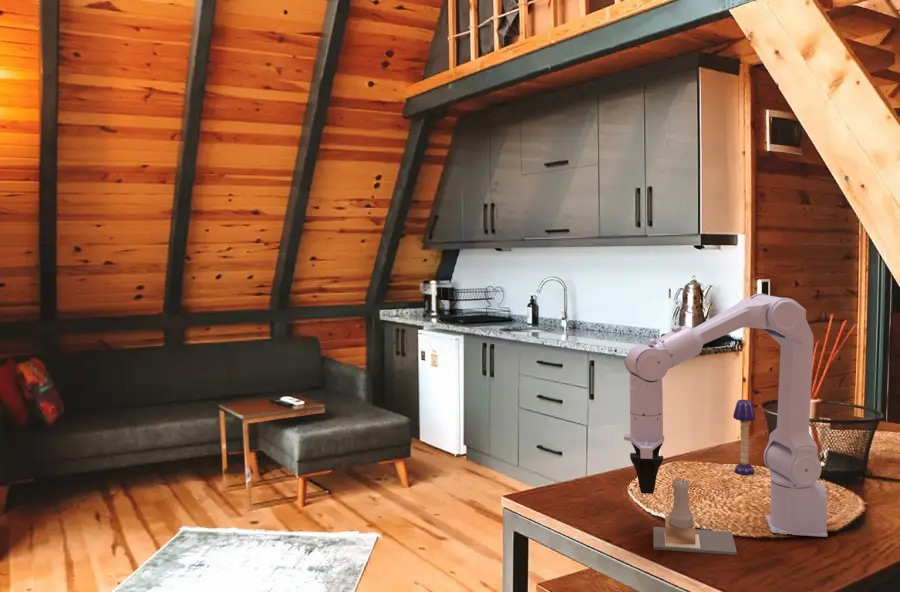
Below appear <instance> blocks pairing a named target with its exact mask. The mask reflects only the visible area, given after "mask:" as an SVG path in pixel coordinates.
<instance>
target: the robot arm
mask: <svg viewBox="0 0 900 592" xmlns="http://www.w3.org/2000/svg"><path fill="white" fill-rule="evenodd" d="M741 328H748V329H749V328H751V329H758V330H761V331H763V332H765V333H767V334H768V335H769V336H770V337H771V338H772V339H773V340H775V342H777V343H778V345H780V357H779V376H778V377H779V378H778V397H777V415H776V416H777V417H776V418H777V420H776V428H775V429H774V430H773V431H771V432H770V434H769V435H768V436H769V437H768V438H769V439H768V443H767V445H766V448H765V450H764V452H763V462H764V464H765V466H766V467H767V468H768V469H769V472H770V473H769V476H770V515H765V518H766V522H767V524H768V527H770V528H769V529H770V532H772V534H773V533H779V534H778V535H787V534H790V535H791V534H792V535H793V536H805V537H806V536H807V537H809V536H810V537H819V538H820V537H823V538H825V537H826V538H827V537H828V531H827V530H828V496H827V495H828V494H827V489H826V486H825V484H824V483H823V482H819V481H818V480H819V478H820V477H821V474H822V463H821V461H820V458H819V455H818V445H817V443H816V442H815V440H814V439H813V436H811V433H810V417H811V398H812V397H811V396H812V395H811V394H812V381H813V379H812V378H813V360H814V343H815V342H814V334H813V331H812V329H811V326H810V325H809V323H808V320H807V309H806V308H804V307H803V306H802V305H801V304H800V303H799V302H797V301H796V300H795V299H792V298H789V297H780V296H774V295H769V294H766V293H756V294H753V295H752V296H750V297H748V298H743V299H741V300H739V301H738V302H737V303H736V304H734V305H733V306H731V307H729V308H727V309H725V310H724V311H722V312H720V313H718V314H717V315H715V316H713V317H711V318H709V319H707V320H706V321H704V322H703V323H701V324H699V325H696V326H695V327H691V326H688V325H683V326H681V325H675V326H673V327H671V331H670V332H668V333H666V334H663V335H661V336H659V337H658V338H654V337H653V338H650V339H648V343H647V344H642V343H641V344H637V345H634V346H633V347H631V348H630V349H629V351H628V352H627V354H626V357H625V359H624V360H623V364H624V365H623V366H624V367H625V369H626V370H627V372H628V373H629V424H630V427H629V428H630V430H629V432H630V433H624V434H623V440H624V441H627V442H631V445H632V447H633V448H634V451H635V452H629V454H630V455H629V458H630V461H631V463H632V465H633V467H634V469H635V472H636V476H637V481H638V487H639V490H640V493H641V494H646V495H647V494H648V495H651V494H652V495H653V494H654V492H655V487H656V482H657V476H658V472H659V469H660V467H661V465H662V463H663V461H664V456H663V455H659V453H660V450H661V448H662V446H663V443H664V442H665V436H664V408H663V407H664V406H663V405H664V404H663V403H664V401H663V399H664V398H663V397H664V396H663V395H664V394H663V393H664V392H663V390H664V389H663V378H664V377H665V376H666V375H667V373H668V371H669V370H670V369H671V368H674V367H675V366H678V365H680V364H682V363H684V362H686V361H688V360H690V359H692V358H694V357H696V356H699V355H700V354H701V352H702V349H703V346H704V345H705V344H707V343H710V342H712V341H714V340H716V339H717V340H718V339H719V338H721V337H723V336H726V335H729V334H731V333H732V332H736V331H738V330H740V329H741ZM792 535H791V536H792Z"/></svg>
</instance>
